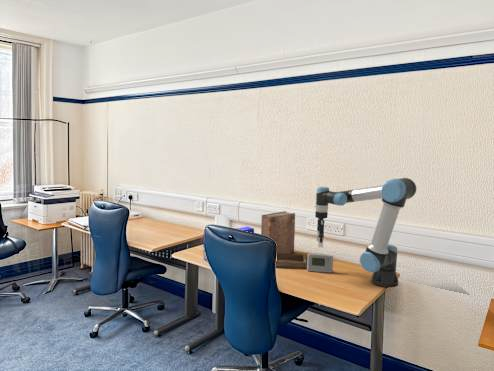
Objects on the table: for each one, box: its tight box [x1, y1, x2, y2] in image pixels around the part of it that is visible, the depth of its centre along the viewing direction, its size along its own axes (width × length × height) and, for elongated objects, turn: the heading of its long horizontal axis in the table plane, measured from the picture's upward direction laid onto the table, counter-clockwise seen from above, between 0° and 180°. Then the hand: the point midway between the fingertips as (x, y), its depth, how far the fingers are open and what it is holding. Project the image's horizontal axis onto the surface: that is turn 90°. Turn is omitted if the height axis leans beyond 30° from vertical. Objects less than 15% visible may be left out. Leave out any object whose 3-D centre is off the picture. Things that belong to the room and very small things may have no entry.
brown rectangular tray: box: [275, 253, 307, 270], centre depth 255 cm, size 17×21×4 cm
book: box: [260, 210, 296, 254], centre depth 273 cm, size 25×9×30 cm, turn 131°
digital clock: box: [306, 253, 334, 274], centre depth 241 cm, size 16×9×11 cm, turn 67°
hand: (319, 244), depth 240 cm, fingers open, 13 cm apart
